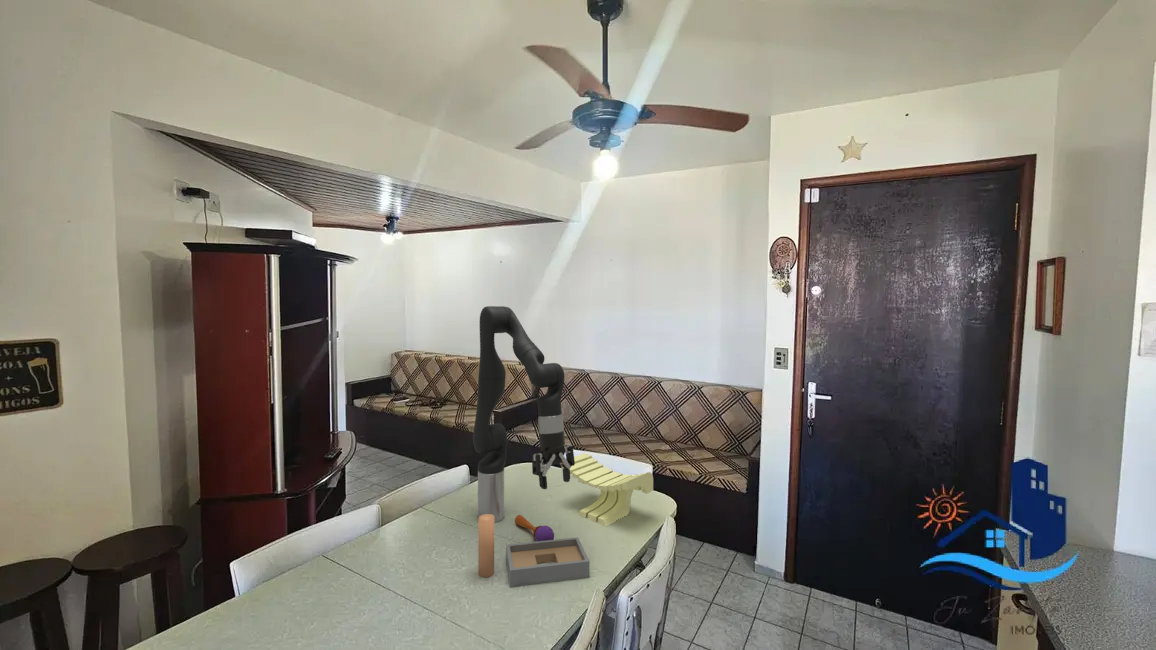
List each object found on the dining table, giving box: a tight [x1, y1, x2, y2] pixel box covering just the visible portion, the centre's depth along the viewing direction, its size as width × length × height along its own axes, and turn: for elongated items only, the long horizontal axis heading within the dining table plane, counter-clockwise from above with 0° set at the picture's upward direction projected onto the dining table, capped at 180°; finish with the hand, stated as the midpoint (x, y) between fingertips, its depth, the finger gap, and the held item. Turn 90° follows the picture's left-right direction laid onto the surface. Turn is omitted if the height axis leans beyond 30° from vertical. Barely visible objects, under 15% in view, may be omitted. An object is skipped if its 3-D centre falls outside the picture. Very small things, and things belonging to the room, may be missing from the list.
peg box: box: [505, 537, 590, 588], centre depth 137 cm, size 14×22×4 cm, turn 103°
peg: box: [477, 514, 495, 578], centre depth 134 cm, size 4×4×16 cm
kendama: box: [514, 514, 555, 542], centre depth 156 cm, size 6×6×20 cm
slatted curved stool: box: [561, 452, 654, 527], centre depth 173 cm, size 30×16×18 cm, turn 48°
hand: (555, 485), depth 141 cm, fingers open, 8 cm apart
